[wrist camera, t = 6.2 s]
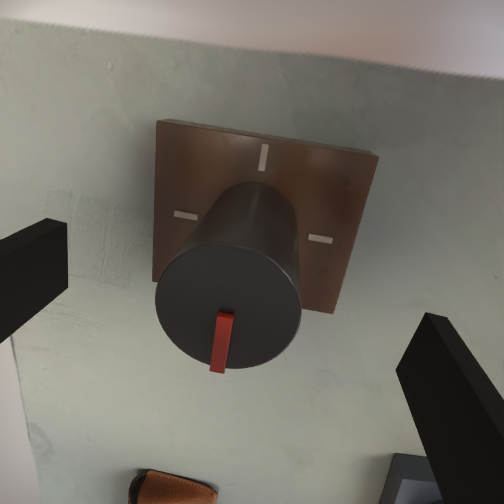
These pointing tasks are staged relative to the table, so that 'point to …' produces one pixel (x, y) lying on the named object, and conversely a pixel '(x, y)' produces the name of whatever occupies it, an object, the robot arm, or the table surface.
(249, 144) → the knob panel
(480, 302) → the table surface
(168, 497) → the sunglasses case
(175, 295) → the dial
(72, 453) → the table surface
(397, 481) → the button box
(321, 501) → the table surface
